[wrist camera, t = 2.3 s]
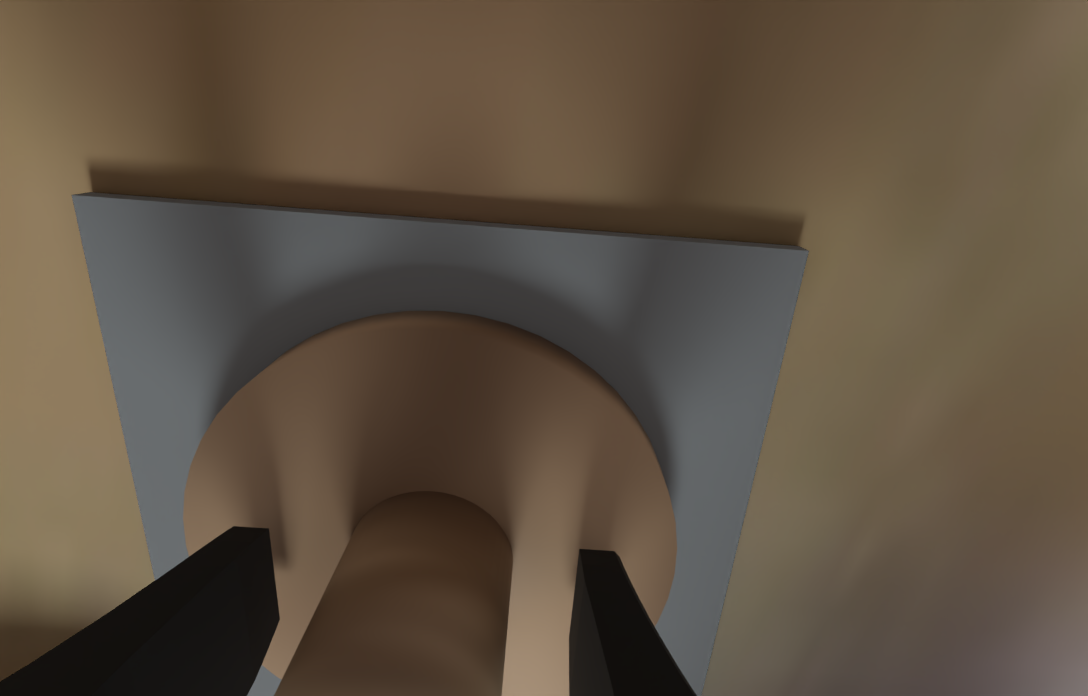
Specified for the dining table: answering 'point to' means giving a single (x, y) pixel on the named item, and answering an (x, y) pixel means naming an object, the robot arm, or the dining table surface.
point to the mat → (461, 287)
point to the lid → (431, 504)
